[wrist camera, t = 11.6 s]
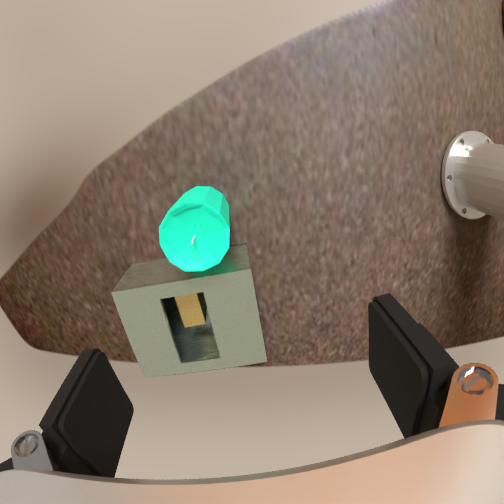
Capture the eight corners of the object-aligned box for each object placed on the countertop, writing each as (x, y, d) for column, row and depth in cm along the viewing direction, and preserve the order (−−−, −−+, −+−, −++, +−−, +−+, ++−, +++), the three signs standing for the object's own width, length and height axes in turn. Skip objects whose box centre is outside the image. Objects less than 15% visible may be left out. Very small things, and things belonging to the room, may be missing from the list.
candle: (221, 243, 37) (219, 287, 26) (171, 229, 36) (147, 268, 25) (236, 193, 35) (240, 217, 24) (184, 179, 34) (163, 195, 23)
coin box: (245, 243, 37) (250, 268, 30) (260, 323, 41) (267, 361, 33) (132, 263, 37) (111, 292, 30) (156, 339, 41) (144, 377, 33)
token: (193, 282, 32) (205, 323, 34) (197, 265, 37) (207, 302, 39) (171, 287, 32) (184, 327, 34) (177, 269, 37) (189, 306, 39)
